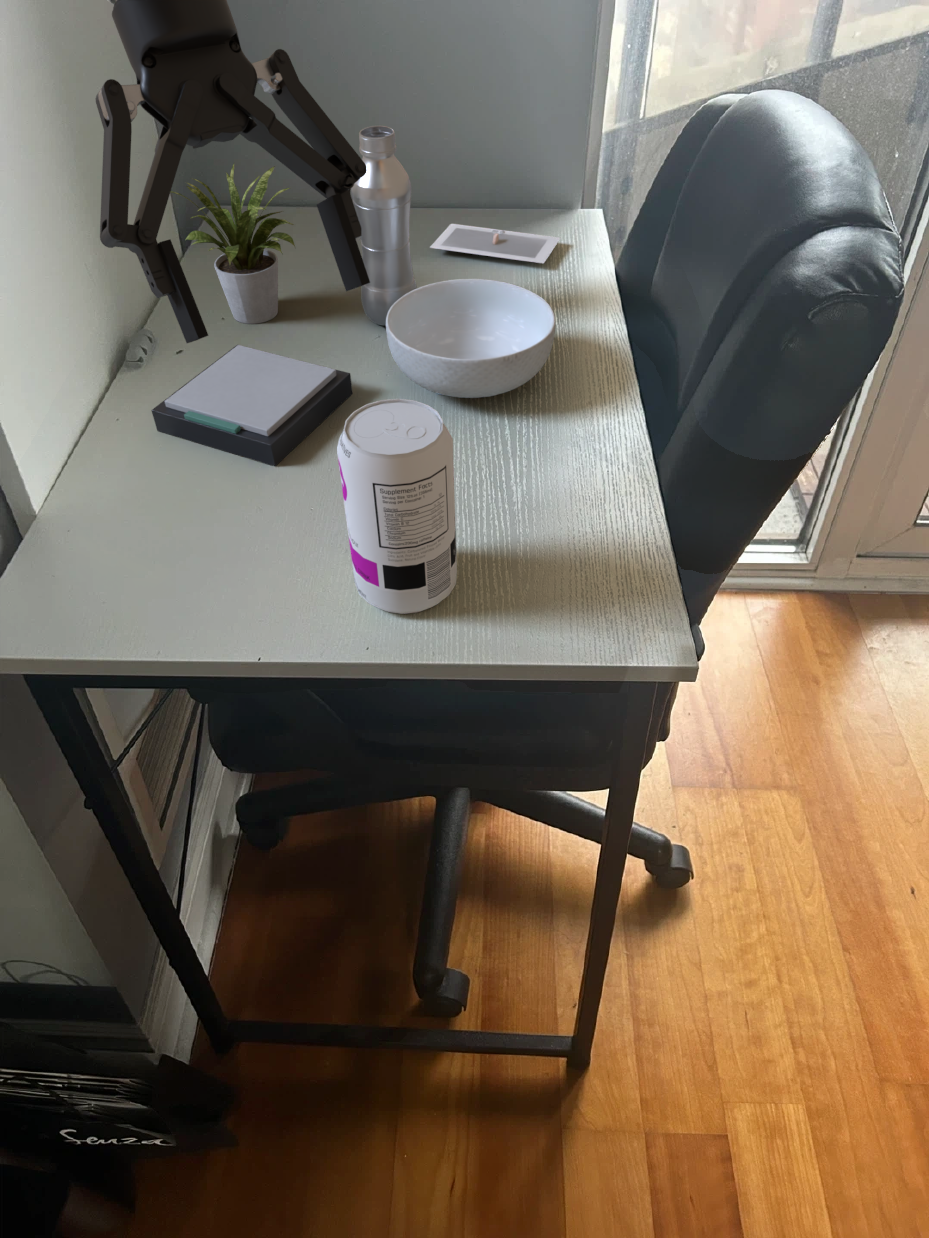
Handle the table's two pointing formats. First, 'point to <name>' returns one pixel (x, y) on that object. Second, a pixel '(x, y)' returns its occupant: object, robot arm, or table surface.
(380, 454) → the supplement can
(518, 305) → the cereal bowl
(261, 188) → the house plant
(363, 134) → the silver metal bottle
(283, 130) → the robot arm
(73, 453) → the table surface
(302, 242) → the table surface
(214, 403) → the scale
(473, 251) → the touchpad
